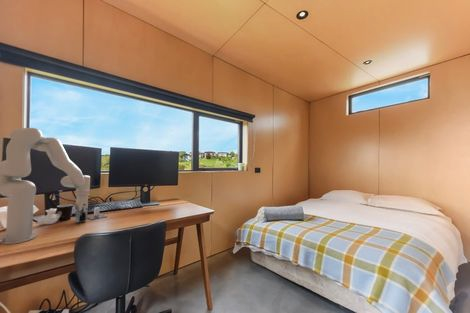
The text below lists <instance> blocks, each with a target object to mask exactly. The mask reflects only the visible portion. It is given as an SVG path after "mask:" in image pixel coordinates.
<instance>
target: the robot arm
mask: <svg viewBox="0 0 470 313" xmlns="http://www.w3.org/2000/svg"><path fill="white" fill-rule="evenodd" d="M9 138H10V140H9V142H8V143H7V145H6V148H5V154H6V156H5V157H6V158H5V160H3V161H0V196H3V197H7V198H8V197H9V200H8V203H7V207H6V227H5V228H6V230H5V232H4V233H3V234H1V235H0V243H1V244H2V245H14V244H20V243H25V242H29V241H31V240H34V239H35V238H36V237H37V233H36V232H35V233H34V232H33V229H34V228H33V227H34V226H33V225H34V221H33V220H34V203H35V197H36V193H37V186H36V185H35V183H34V182H33V181H30V180H25V179H22V178H25V177H28V176H30V175H31V172H32V163H31V149H32V150H36V151H39V152H45V153H46V155H47V157H48V158H49V160H50V162H51V164H52V166H54V168H57V169H59V170H61V171H63V172H64V173H66V175H65V176H63V177H62V178H61V180H60V184H61V185H62V186H63V187H64V188H65V187H67V188H74V189H75V197H76V199H75V210H76V211H80V221H82V222H86V221H85V220H86V210H87V211H88V206H89V205H88V204H89V196H90V191H91V190H90V189H91V176H90V175H86V174H85V175H84V174H83V173H82V170H81V169H80V168H79V167H78V165H77V164H75V163H74V162H73V161H72V160H71V159H70V158H69V155H68V153H67V152H66V149H65V148H64V145H63V143H62V142H61V140H60V139H58V138H55V137H43V133H42V131H41V130H40V129H38V128H34V127H21V128H15V129H13V130H11V131H10V133H9ZM82 211H83V212H82Z"/></svg>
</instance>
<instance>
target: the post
mask: <svg viewBox="0 0 470 313" xmlns="http://www.w3.org/2000/svg"><path fill="white" fill-rule="evenodd" d="M100 211H101V210H100V207H94V208H93V215H87V220H90V221H91V220H98V219H104V218H107V217H108V216H107V215H105V214H103V213H100Z"/></svg>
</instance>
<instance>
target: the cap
mask: <svg viewBox="0 0 470 313" xmlns="http://www.w3.org/2000/svg"><path fill="white" fill-rule="evenodd" d="M82 212H83V211H82ZM87 216H88V209H87V210H86V220H85V221H84V222H87V221H88V218H87ZM75 222H76V223H81V222H83V221H80V211H78V210H76V211H75Z"/></svg>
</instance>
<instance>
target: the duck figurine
mask: <svg viewBox="0 0 470 313" xmlns="http://www.w3.org/2000/svg"><path fill="white" fill-rule="evenodd" d="M56 211H57V208H56V209H55V208H49V209H46V210H45V212H46V213H47V214H46V215H43V216H41V217H39V218H38V219H37V224H38V225H39V226H41V225H52V224H55V223H57V222H58V221H59V220H58V219H59V218H60V214H57V213H56Z"/></svg>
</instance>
